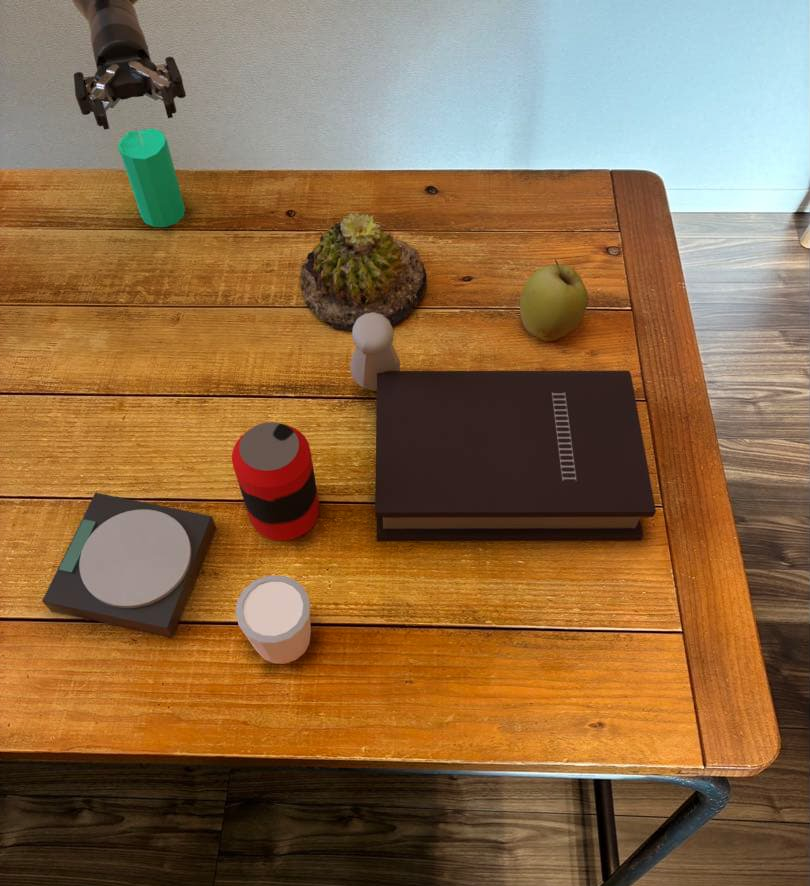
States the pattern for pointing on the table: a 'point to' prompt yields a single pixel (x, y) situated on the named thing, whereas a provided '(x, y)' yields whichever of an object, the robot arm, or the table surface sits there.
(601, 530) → the book
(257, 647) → the yogurt cup
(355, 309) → the cactus
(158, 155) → the candle
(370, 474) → the table surface
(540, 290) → the apple
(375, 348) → the salt shaker
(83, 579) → the kitchen scale
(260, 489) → the soda can
